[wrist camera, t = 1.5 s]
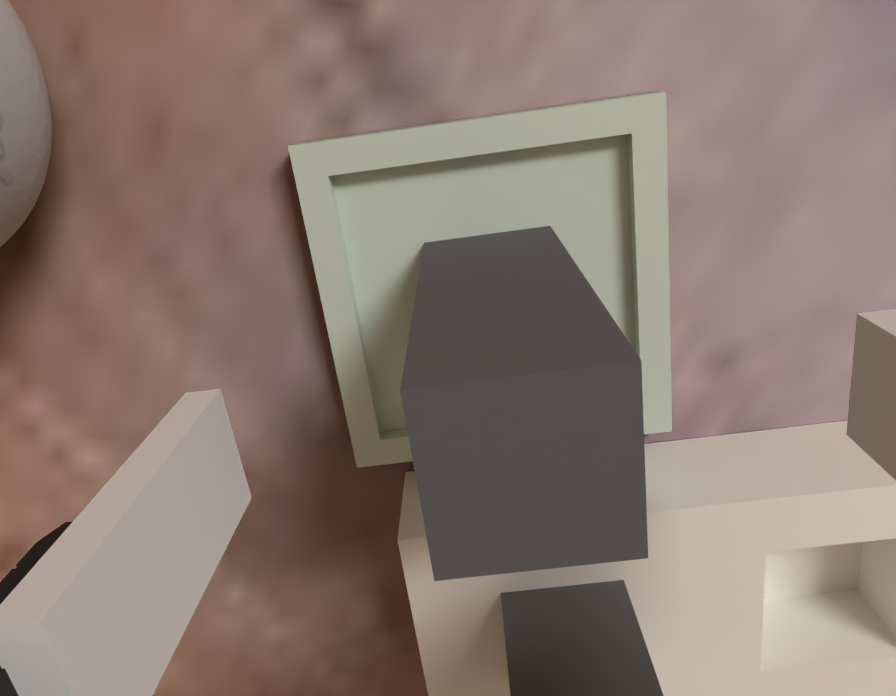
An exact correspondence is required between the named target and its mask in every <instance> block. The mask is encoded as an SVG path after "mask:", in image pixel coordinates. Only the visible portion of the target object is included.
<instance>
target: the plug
mask: <svg viewBox="0 0 896 696" xmlns="http://www.w3.org/2000/svg"><path fill="white" fill-rule="evenodd" d="M400 393H401V398H402V404H403V409H404V415H405V420H406V426H407V432H408V437H409V443H410V448H411V454H412V459H413V465H414V471H415V476H416V482H417V487H418V493H419V499H420V504H421V510H422V515H423V521H424V526H425V532H426V538H427V543H428V549H429V554H430V560H431V565H432V571H433V577H434V581H440V580H450V579H459V578H468V577H478V576H487V575H496V574H506V573H515V572H524V571H534V570H543V569H552V568H562V567H571V566H580V565H590V564H599V563H608V562H618V561H627V560H636V559H646V558H648V536H647V507H646V479H645V450H644V421H643V392H642V363H641V359H640V358H639V356H638V355H637V353H636V352H635V350H634V349H633V347H632V346H631V344H630V343H629V341H628V340H627V338H626V337H625V336H624V334H623V333H622V331H621V330H620V328H619V327H618V325H617V324H616V322H615V321H614V319H613V318H612V316H611V315H610V313H609V312H608V310H607V309H606V307H605V306H604V304H603V303H602V302H601V300H600V299H599V297H598V296H597V294H596V293H595V291H594V290H593V288H592V287H591V285H590V284H589V282H588V281H587V279H586V278H585V276H584V275H583V273H582V272H581V270H580V269H579V268H578V266H577V265H576V263H575V262H574V260H573V259H572V257H571V256H570V254H569V253H568V251H567V250H566V248H565V247H564V245H563V244H562V242H561V241H560V239H559V238H558V236H557V235H556V234H555V232H554V231H553V229H552V228H551V226H544V227H537V228H529V229H522V230H514V231H507V232H499V233H492V234H485V235H477V236H470V237H462V238H455V239H447V240H440V241H432V242H425V243H424V248H423V254H422V260H421V266H420V272H419V278H418V284H417V290H416V296H415V302H414V308H413V314H412V321H411V327H410V333H409V339H408V345H407V351H406V357H405V363H404V369H403V375H402V381H401V387H400Z"/></svg>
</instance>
